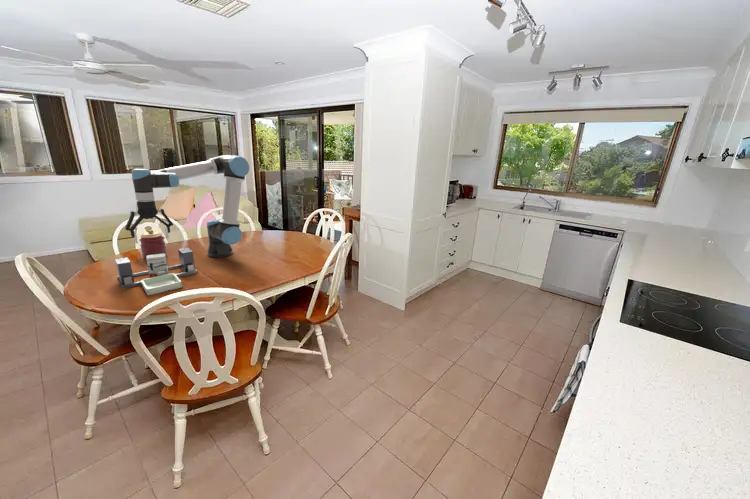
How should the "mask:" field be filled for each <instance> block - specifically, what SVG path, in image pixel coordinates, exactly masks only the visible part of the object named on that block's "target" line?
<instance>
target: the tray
mask: <svg viewBox="0 0 750 499" xmlns="http://www.w3.org/2000/svg"><path fill="white" fill-rule="evenodd" d="M175 274H176V273H174V272H173V273H169V274H166V275H162V276H157V277H152V278H150V277H147V278H141V279H140V282H141V284H142V285H141V286H142V287H141V288H143V290H144V291H145V293H146V295H147V296H152V295H153V296H154V295H156V294H161V293H164V292H165V291H166V292H169V291H168V290H170V291H173V290H177V289H182V288H183V281H182V280H181V279H180V277H177V276H176V275H175ZM166 292H165V293H166Z"/></svg>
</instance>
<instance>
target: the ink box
mask: <svg viewBox="0 0 750 499" xmlns="http://www.w3.org/2000/svg"><path fill="white" fill-rule="evenodd" d="M145 260H146V264H147V271H149V274H148V276H149V278H152V277H157V276H158V274H157V271H160V270H164V272H165V275H166V274H170V273H169V270H168V267H169V266H168V260H167V256H166V254H164V253H163V254H155V255H147V256H146V259H145Z"/></svg>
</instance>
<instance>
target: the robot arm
mask: <svg viewBox="0 0 750 499" xmlns="http://www.w3.org/2000/svg"><path fill="white" fill-rule="evenodd" d="M249 173H250V165H249V162H248V160H247V159H246V158H244V157H242V156H240V155H235V154H224V155H218V156H216V157H211V158H208V160H204V161H199V162H193V163H189V164H183V165H178V166H173V167H172V166H171V167H168V168H162V169H157V170H155V169H153V170H152V169H151V170H150V169H148V168H133V169H132V170H131V180H132V184H133V188H134V195H135V200H136V206H137V210H136V211H135V210H130V216H129V218H128V220H127V223H126V225H125V227H124V230H126V231H129V232H130V236H131V237H132V238H133V239H134V243H135V244H136V245H137V244H139V240H138V235H137V232H136V231H137V230H135V229H136V228H137V227H138V225H140V223H141V222H142V221H143V220H148V219H152V220H153V219H156V220H157V221H159V222H160V223H161V224H163V225H164V231H165V239H166V240H170V236H169V234H170V233H171V229H170V228H171V227H172V226H174V223H173V222H172V221H171V220H170V218H169V217H168V215H167V214H166V213H165V210H164V209H163V208H160V209H157V207H156V201H155V194H154V189H159V188H161V189H162V188H163V189H164V188H167V189H168V188H178V186H179V185H180V181H182V180H187V179H192V178H196V177H197V178H198V177H202V176H206V175H211V174H213V175H218V174H219V175H220V174H223V177H224V179H225V181H226V182H225V189H224V197H223V198H224V200H223V211H222V218H221V219H220V218H219V219H211V220H208V221H207V223H206V228H207V236H208V247H207V251H206V252H207V253H206V254H207V256H208V257H210V258H223V257H228V256H231V255H232V254H233V252H234V251H233V247H232V245H236V244H237V243H238V242H240V241H241V239H242V237H243V232H242V230H241V228H240V225H241V224H240V221H238V218H239V209H240V201H241V200H240V199H241V190H242V183H243V181H245V179H246V176H247V175H249ZM158 213H159V214H161V215H162V216H163V218H164V219H165V220H166V221H164V220H163V219H162V218H160V217H159V216H158V215H157V214H158ZM137 214H138V217H137V219H136V220H135V222H134V223H133V221H134V218H135V216H136V215H137Z"/></svg>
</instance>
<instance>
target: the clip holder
mask: <svg viewBox="0 0 750 499" xmlns="http://www.w3.org/2000/svg"><path fill="white" fill-rule="evenodd" d="M177 252H178V257H179V264H175V265H171V266H168V271H170V270H175V269H178V268H179V269H181V271H183V272H180V273H175V275H176V276H177V277H178V278H181V277H184V276H189V275H194V274H198V273H199V269H196V267H195V259H194V251H193V250H192V249H191V248H189V247H182V248H177ZM114 261H115V266H116V269H117V274H118V276H116V278H117V280H119V283H120V284H121V289H122V290H123V289H130V288H134V287H137V286H142V284H141V281H137V282H135V278H134V277H139V276H144V275H149V271H148V270H143V271H140V272H133V268H132V264H131V260H130V259H129V258H128V256H127V257H121V258H115V259H114ZM157 274H158V276H162V275H165V272H164V270H160V271H157Z"/></svg>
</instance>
